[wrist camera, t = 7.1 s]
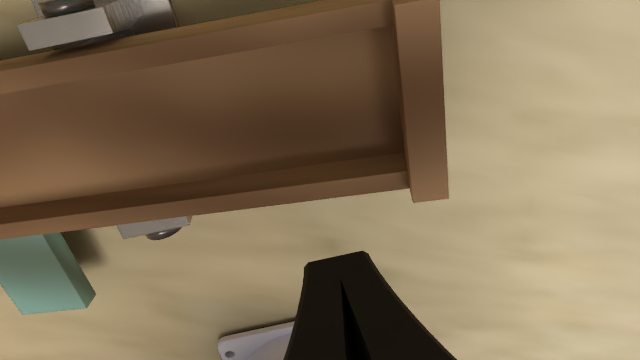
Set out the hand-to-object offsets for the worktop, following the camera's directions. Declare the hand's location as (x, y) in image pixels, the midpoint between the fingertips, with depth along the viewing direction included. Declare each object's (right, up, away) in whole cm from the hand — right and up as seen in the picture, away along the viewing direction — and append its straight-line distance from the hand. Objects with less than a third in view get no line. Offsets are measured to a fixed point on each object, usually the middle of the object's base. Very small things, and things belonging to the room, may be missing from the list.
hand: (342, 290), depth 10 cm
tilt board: (-7, +2, +6) cm, 9 cm away
